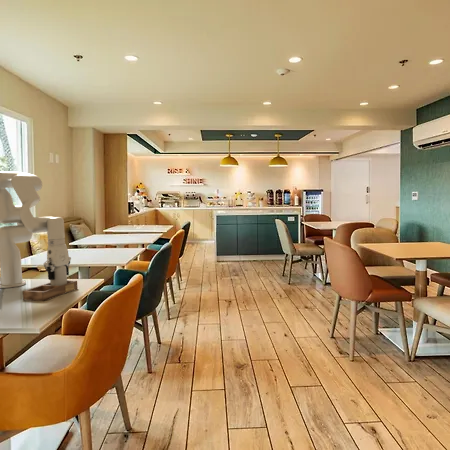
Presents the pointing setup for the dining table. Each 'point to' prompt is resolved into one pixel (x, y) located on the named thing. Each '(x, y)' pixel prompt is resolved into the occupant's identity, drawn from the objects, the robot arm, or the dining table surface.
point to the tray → (48, 291)
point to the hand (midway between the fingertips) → (58, 277)
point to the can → (59, 276)
